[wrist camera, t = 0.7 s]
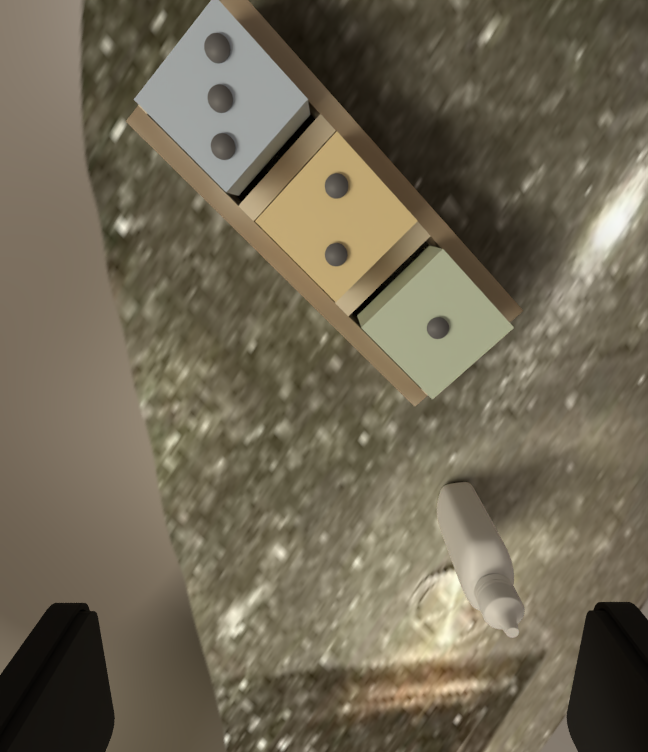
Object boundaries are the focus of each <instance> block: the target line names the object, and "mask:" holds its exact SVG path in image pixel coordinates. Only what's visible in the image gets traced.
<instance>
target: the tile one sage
mask: <svg viewBox="0 0 648 752" xmlns="http://www.w3.org/2000/svg"><path fill="white" fill-rule="evenodd" d="M357 317H358V320H359V323H360V326H361V328H362V329H363V330H364V331H365V332H366V333H367V334H368V335H369V336H370V337H371V338H372V339H373V340H374V341H375V342H376V343H377V344H378V345H379V346H380V347H381V348H382V349H383V350H384V351H385V352H386V353H387V354H388V355H389V356H390V357H391V358H392V359H393V360H394V361H395V362H396V363H397V364H398V365H399V366H400V367H401V368H402V369H403V370H404V371H405V372H406V373H407V374H408V375H409V376H410V377H411V378H412V379H413V380H414V381H415V382H416V383H417V384H418V385H419V386H420V387H421V388H422V389H423V390H424V391H425V392H426V393H427V394H428V395H429V396H430V397H431V398H432V399H434V398H435V397H436V396H437V395H438V394H439V393H440V392H442V391H443V390H444V389H445V388H446V387H447V386H448V385H450V384H451V383H452V382H453V381H454V380H455V379H456V378H457V377H459V376H460V375H461V374H462V373H463V372H464V371H465V370H467V369H468V368H469V367H470V366H471V365H472V364H473V363H475V362H476V361H477V360H478V359H479V358H480V357H481V356H482V355H484V354H485V353H486V352H487V351H488V350H489V349H490V348H492V347H493V346H494V345H495V344H496V343H497V342H498V341H500V340H501V339H502V338H503V337H504V336H505V335H506V334H507V333H509V332H510V331H511V330H512V329H513V328H514V327H513V326H512V325H511V324H510V323H509V322H508V320H507V319H506V318H505V317H504V316H503V315H502V314H501V313H500V312H499V310H498V309H497V308H496V307H495V306H494V305H493V304H492V303H491V302H490V300H489V299H488V298H487V297H486V296H485V295H484V294H483V293H482V292H481V290H480V289H479V288H478V287H477V286H476V285H475V284H474V283H473V282H472V280H471V279H470V278H469V277H468V276H467V275H466V274H465V273H464V272H463V271H462V269H461V268H460V267H459V266H458V265H457V264H456V263H455V262H454V261H453V259H452V258H451V257H450V256H449V255H448V254H447V253H446V252H445V251H444V249H441V248H437V247H433V246H428V247H427V248H426V249H425V250H424V251H423V252H422V253H421V254H420V255H419V256H418V257H417V258H416V259H415V260H414V261H413V262H412V263H411V264H410V265H409V266H408V267H407V268H406V269H405V270H403V271H402V272H401V273H400V274H399V275H398V276H397V277H396V278H395V279H394V280H393V281H392V282H391V283H390V284H389V285H388V286H387V287H386V288H385V289H384V290H383V291H382V292H381V293H380V294H379V295H378V296H377V297H376V298H375V299H374V300H373V301H372V302H371V303H370V304H369V305H367V306H366V307H365V308H364V309H363V310H362V311H361V312H360V313H359V314H358V315H357Z"/></svg>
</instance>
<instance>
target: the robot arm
mask: <svg viewBox="0 0 648 752" xmlns="http://www.w3.org/2000/svg"><path fill="white" fill-rule="evenodd" d="M114 719H115V718H114V710H113V704H112V698H111V692H110V686H109V680H108V674H107V668H106V662H105V656H104V651H103V645H102V639H101V633H100V627H99V621H98V616H97V613H96V612H95V611H90V610H89V607H88V605H87V604H86V603H54V604H52V605H51V606H50V607H49V608H48V609H47V610H46V612H45V613H44V615H43V616H42V617H41V619H40V620H39V622H38V623H37V624H36V626H35V627H34V629H33V630H32V632H31V633H30V634H29V636H28V637H27V638H26V640H25V641H24V643H23V644H22V645H21V647H20V649H19V650H18V651H17V653H16V654H15V655H14V657H13V658H12V660H11V661H10V662H9V664H8V665H7V666H6V668H5V669H4V671H3V672H2V673H1V675H0V752H105V751H106V748H107V746H108V744H109V741H110V739H111V736H112V732H113V728H114ZM567 724H568V728H569V732H570V735H571V738H572V740H573V742H574V744H575V746H576V748H577V750H578V752H648V620H647V618H646V617H645V616H644V615H643V614H642V612H641V611H640V610H639V609H638V608H637V607H636V606H635V605H634V604H632V603H630V602H598V603H597V604H596V605H595V608H594V610H592V611H589V612H588V613H587V615H586V620H585V625H584V630H583V635H582V640H581V645H580V650H579V655H578V660H577V665H576V670H575V675H574V680H573V685H572V690H571V695H570V700H569V705H568V711H567Z"/></svg>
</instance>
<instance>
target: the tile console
mask: <svg viewBox="0 0 648 752" xmlns="http://www.w3.org/2000/svg"><path fill="white" fill-rule="evenodd" d="M220 2H221V3H222V4H223V5H224V7H225V8H226V9H227V10H228V11H229V12H230V13H231V14H232V15H233V17H234V18H235V19H236V20H237V21H238V22H239V23H240V24H241V25H242V27H243V28H244V29H245V30H246V31H247V32H248V33H249V34H250V35H251V36H252V38H253V39H254V40H255V41H256V42H257V43H258V44H259V45H260V46H261V48H262V49H263V50H264V51H265V52H266V53H267V54H268V55H269V56H270V58H271V59H272V60H273V61H274V62H275V63H276V64H277V65H278V66H279V68H280V69H281V70H282V71H283V72H284V73H285V74H286V75H287V76H288V78H289V79H290V80H291V81H292V82H293V83H294V84H295V85H296V86H297V88H298V89H299V90H300V91H301V92H302V93H303V94H304V95H305V96H306V97H307V99H308V103H309V109H310V114H311V115H312V116H313V117H314V119H315V120H314V122H313V123H312V124H311V125H310V126H309V127H308V128H307V129H306V130H305V132H304V133H303V134H302V135H301V136H300V137H299V138H298V139H297V141H296V142H295V143H294V144H293V145H292V146H291V147H290V148H289V150H288V151H287V152H286V153H285V154H284V155H283V156H282V157H281V159H280V160H279V161H278V162H277V163H276V164H275V165H274V166H273V168H272V169H271V170H270V171H269V172H268V173H267V174H266V175H265V177H264V178H263V179H262V180H261V181H260V182H259V183H258V184H257V185H256V187H255V188H254V189H253V190H252V191H251V192H250V193H249V194H248V196H247V197H246V198H245V199H244V200H243V201H241V200H240V199H239V198H238V197H237V196H236V195H234V194H230V193H227V192H225V191H224V190H223V189H222V188H221V187H220V186H219V185H218V184H217V183H216V182H215V181H214V180H213V179H212V178H211V177H210V176H209V175H208V174H207V173H206V172H205V171H204V170H203V169H202V168H201V167H200V166H199V165H198V163H197V162H196V161H195V160H194V159H193V158H192V157H191V156H190V155H189V154H188V153H187V152H186V151H185V150H184V149H183V148H182V147H181V146H180V145H179V144H178V143H177V142H176V141H175V140H174V139H173V138H172V137H171V136H170V135H169V134H168V133H167V132H166V131H165V130H164V129H163V128H162V127H161V126H160V125H159V124H158V123H157V122H156V121H155V120H154V119H153V118H152V117H151V116H150V115H149V114H148V113H147V112H146V111H145V110H144V109H143V108H142V107H141V106H140V105H138V107H137V108H136V109H135V110H134V112H133V113H132V114H131V115H130V117H129V118H128V119H127V121H126V122H127V123H128V124H129V125H130V126H131V127H132V128H133V129H134V130H135V131H136V132H137V133H138V134H139V135H140V136H141V137H142V138H143V139H144V140H145V141H146V142H147V143H148V144H149V145H150V146H151V147H152V148H153V149H154V150H155V151H156V152H157V153H158V154H159V155H160V156H161V157H162V158H163V159H164V160H166V161H167V162H168V163H169V164H170V165H171V166H172V167H173V168H174V169H175V170H176V171H177V172H178V173H179V174H180V175H181V176H182V177H183V178H184V179H185V180H186V181H187V182H188V183H189V184H190V185H191V186H192V187H193V188H194V189H195V190H196V191H197V192H198V193H199V194H200V195H201V196H202V197H203V198H204V199H205V200H206V201H207V202H208V203H209V204H210V205H211V206H212V207H213V208H214V209H215V210H216V211H217V212H218V213H219V214H220V215H221V216H222V217H223V218H224V219H225V220H226V221H227V222H228V223H229V224H230V225H231V226H232V227H233V228H234V229H235V230H236V231H237V232H238V233H239V234H240V235H241V236H242V237H243V238H244V239H245V240H246V241H248V242H249V243H250V244H251V245H252V246H253V247H254V248H255V249H256V250H257V251H258V252H259V253H260V254H261V255H262V256H263V257H264V258H265V259H266V260H267V261H268V262H269V263H270V264H271V265H272V266H273V267H274V268H275V269H276V270H277V271H278V272H279V273H280V274H281V275H282V276H283V277H284V278H285V279H286V280H287V281H288V282H289V283H290V284H291V285H292V286H293V287H294V288H295V289H296V290H297V291H298V292H299V293H300V294H301V295H302V296H303V297H304V298H305V299H306V300H307V301H308V302H309V303H310V304H311V305H312V306H313V307H314V308H315V309H316V310H317V311H318V312H319V313H320V314H321V315H322V316H323V317H324V318H325V319H326V320H327V321H328V322H330V323H331V324H332V325H333V326H334V327H335V328H336V329H337V330H338V331H339V332H340V333H341V334H342V335H343V336H344V337H345V338H346V339H347V340H348V341H349V342H350V343H351V344H352V345H353V346H354V347H355V348H356V349H357V350H358V351H359V352H360V353H361V354H362V355H363V356H364V357H365V358H366V359H367V360H368V361H369V362H370V363H371V364H372V365H373V366H374V367H375V368H376V369H377V370H378V371H379V372H380V373H381V374H382V375H383V376H384V377H385V378H386V379H387V380H388V381H389V382H390V383H391V384H392V385H393V386H394V387H395V388H396V389H397V390H398V391H399V392H400V393H401V394H402V395H403V396H404V397H405V398H406V399H407V400H408V401H409V402H410V403H412V404H413V405H414V406H416V405H417V404H418V403H419V402H421V401H422V400H423V399H424V398H425V397H426V396H427V395H428V394H427V393H426V392H425V391H424V390H423V389H422V388H421V387H420V386H419V385H418V384H417V383H416V382H415V381H414V380H413V379H412V378H411V377H410V376H409V375H408V374H407V373H406V372H405V371H404V370H403V369H402V368H401V367H400V366H399V365H398V364H397V363H396V362H395V361H394V360H393V359H392V358H391V357H390V356H389V355H388V354H387V353H386V352H385V351H384V350H383V349H382V348H381V347H380V346H379V345H378V344H377V343H376V342H375V341H374V340H373V339H372V338H371V337H370V336H369V335H368V334H367V333H366V332H365V331H364V330H363V329H362V328H361V326H360V323H359V320H358V318H357V317H356V316H355V315H354V314H353V313H352V312H353V311H354V310H355V309H356V308H357V307H359V306H360V305H361V304H362V303H363V302H364V301H365V300H366V299H367V298H368V297H369V296H370V295H371V294H372V293H373V292H374V291H375V290H376V289H377V288H378V287H379V286H380V285H381V284H382V283H383V282H384V281H385V280H386V279H387V278H388V277H389V276H390V275H391V274H392V273H393V272H394V271H395V270H396V269H397V268H398V267H399V266H400V265H401V264H403V263H404V262H405V261H406V260H407V259H408V258H409V257H410V256H411V255H412V254H413V253H414V252H415V251H416V250H417V249H418V248H419V247H420V246H421V245H422V244H423V243H424V242H425V241H426V242H427V243H428V244H429V245H430V246H433V247H437V248H441V249H444V251H445V252H446V253H447V254H448V255H449V256H450V257H451V258H452V259H453V261H454V262H455V263H456V264H457V265H458V266H459V267H460V268H461V269H462V271H463V272H464V273H465V274H466V275H467V276H468V277H469V278H470V279H471V280H472V282H473V283H474V284H475V285H476V286H477V287H478V288H479V289H480V290H481V292H482V293H483V294H484V295H485V296H486V297H487V298H488V299H489V300H490V302H491V303H492V304H493V305H494V306H495V307H496V308H497V309H498V310H499V312H500V313H501V314H502V315H503V316H504V317H505V318H506V319H507V320H508V322H509V323H510V322H511V321H512V320H513V319H514V318H516V317H517V316H518V315H519V314H520V313H521V312H522V311H523V310H522V309H521V308H520V306H519V305H518V304H517V303H516V302H515V301H514V300H513V299H512V297H511V296H510V295H509V294H508V293H507V292H506V291H505V290H504V288H503V287H502V286H501V285H500V284H499V283H498V282H497V280H496V279H495V278H494V277H493V276H492V275H491V274H490V273H489V271H488V270H487V269H486V268H485V267H484V266H483V265H482V264H481V262H480V261H479V260H478V259H477V258H476V257H475V256H474V255H473V253H472V252H471V251H470V250H469V249H468V248H467V247H466V246H465V244H464V243H463V242H462V241H461V240H460V239H459V238H458V237H457V235H456V234H455V233H454V232H453V231H452V230H451V229H450V227H449V226H448V225H447V224H446V223H445V222H444V221H443V220H442V218H441V217H440V216H439V215H438V214H437V213H436V212H435V211H434V209H433V208H432V207H431V206H430V205H429V204H428V203H427V202H426V200H425V199H424V198H423V197H422V196H421V195H420V194H419V193H418V191H417V190H416V189H415V188H414V187H413V186H412V185H411V183H410V182H409V181H408V180H407V179H406V178H405V177H404V176H403V174H402V173H401V172H400V171H399V170H398V169H397V168H396V167H395V165H394V164H393V163H392V162H391V161H390V160H389V159H388V158H387V156H386V155H385V154H384V153H383V152H382V151H381V150H380V149H379V147H378V146H377V145H376V144H375V143H374V142H373V141H372V140H371V138H370V137H369V136H368V135H367V134H366V133H365V132H364V130H363V129H362V128H361V127H360V126H359V125H358V124H357V123H356V121H355V120H354V119H353V118H352V117H351V116H350V115H349V114H348V112H347V111H346V110H345V109H344V108H343V107H342V106H341V105H340V103H339V102H338V101H337V100H336V99H335V98H334V97H333V96H332V94H331V93H330V92H329V91H328V90H327V89H326V88H325V86H324V85H323V84H322V83H321V82H320V81H319V80H318V79H317V77H316V76H315V75H314V74H313V73H312V72H311V71H310V70H309V68H308V67H307V66H306V65H305V64H304V63H303V62H302V61H301V59H300V58H299V57H298V56H297V55H296V54H295V53H294V52H293V50H292V49H291V48H290V47H289V46H288V45H287V44H286V43H285V41H284V40H283V39H282V38H281V37H280V36H279V35H278V33H277V32H276V31H275V30H274V29H273V28H272V27H271V26H270V24H269V23H268V22H267V21H266V20H265V19H264V18H263V17H262V15H261V14H260V13H259V12H258V11H257V10H256V9H255V8H254V6H253V5H252V4H251V3H250V2H249V1H248V0H221V1H220ZM336 132H338V133H339V134H340V135H341V136H342V137H343V139H344V140H345V141H346V142H347V143H348V144H349V145H350V146H351V147H352V149H353V150H354V151H355V152H356V153H357V154H358V155H359V156H360V157H361V158H362V160H363V161H364V162H365V163H366V164H367V165H368V166H369V167H370V168H371V170H372V171H373V172H374V173H375V174H376V175H377V176H378V177H379V178H380V180H381V181H382V182H383V183H384V184H385V185H386V186H387V187H388V188H389V190H390V191H391V192H392V193H393V194H394V195H395V196H396V197H397V198H398V200H399V201H400V202H401V203H402V204H403V205H404V206H405V207H406V208H407V210H408V211H409V212H410V213H411V214H412V215H413V216H414V217H415V218H416V219H417V222H416V223H415V224H414V225H413V226H412V227H411V228H410V229H409V230H408V231H407V232H406V233H405V234H404V235H403V236H402V237H401V238H400V239H399V240H398V241H397V242H396V243H395V244H394V245H393V246H392V247H391V248H390V249H389V250H388V251H387V252H386V253H385V254H384V255H383V256H382V257H381V258H380V259H379V260H378V261H377V262H376V263H375V264H374V265H373V266H372V267H371V268H370V269H369V270H368V271H367V272H366V273H365V274H364V275H363V276H362V277H361V278H360V279H359V280H358V281H357V282H356V283H355V284H354V285H353V286H352V287H351V288H350V289H349V290H348V291H347V292H346V293H345V294H344V295H343V296H342V297H341V298H340V299H339V300H338V301H337V302H335V301H334V300H333V299H332V298H331V297H330V296H329V295H328V294H327V293H326V292H325V291H324V290H323V289H322V288H321V287H320V286H319V285H318V284H317V283H316V282H315V281H314V280H313V279H312V278H311V277H310V276H309V275H308V274H307V273H306V272H305V271H304V270H303V269H302V268H301V267H300V266H299V265H298V264H297V263H296V262H295V261H294V260H293V259H292V258H291V257H290V256H289V255H288V254H287V253H286V252H285V251H284V250H283V249H282V248H281V247H280V246H279V245H278V244H277V243H276V242H275V241H274V240H273V239H272V238H271V237H270V236H269V235H268V234H267V233H266V232H265V231H264V230H263V229H262V228H261V227H260V226H259V225H258V224H257V223H256V222H255V221H256V220H257V218H258V217H259V216H260V215H261V214H262V213H263V212H264V211H265V210H266V209H267V207H268V206H269V205H270V204H271V203H272V202H273V201H274V200H275V199H276V198H277V196H278V195H279V194H280V193H281V192H282V191H283V190H284V189H285V188H286V187H287V185H288V184H289V183H290V182H291V181H292V180H293V179H294V178H295V177H296V176H297V174H298V173H299V172H300V171H301V170H302V169H303V168H304V167H305V166H306V165H307V163H308V162H309V161H310V160H311V159H312V158H313V157H314V156H315V155H316V154H317V152H318V151H319V150H320V149H321V148H322V147H323V146H324V145H325V144H326V143H327V141H328V140H329V139H330V138H331V137H332V136H333V135H334V134H335V133H336Z"/></svg>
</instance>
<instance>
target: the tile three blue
mask: <svg viewBox="0 0 648 752" xmlns="http://www.w3.org/2000/svg"><path fill="white" fill-rule="evenodd" d="M134 100H135V101H136V102H137V103H138V104H139V105H140V106H141V107H142V108H143V109H144V110H145V111H146V112H147V113H148V114H149V115H150V116H151V117H152V118H153V119H154V120H155V121H156V122H157V123H158V124H159V125H160V126H161V127H162V128H163V129H164V130H165V131H166V132H167V133H168V134H169V135H170V136H171V137H172V138H173V139H174V140H175V141H176V142H177V143H178V144H179V145H180V146H181V147H182V148H183V149H184V150H185V151H186V152H187V153H188V154H189V155H190V156H191V157H192V158H193V159H194V160H195V161H196V162H197V163H198V165H199V166H200V167H201V168H202V169H203V170H204V171H205V172H206V173H207V174H208V175H209V176H210V177H211V178H212V179H213V180H214V181H215V182H216V183H217V184H218V185H219V186H220V187H221V188H222V189H223V190H224V191H225V192H227V193H230V194H234V195H237V196H239V195H240V194H241V193H242V191H243V190H244V189H245V188H246V187H247V186H248V185H249V184H250V182H251V181H252V180H253V179H254V178H255V177H256V176H257V175H258V173H259V172H260V171H261V170H262V169H263V168H264V167H265V166H266V164H267V163H268V162H269V161H270V160H271V159H272V158H273V157H274V155H275V154H276V153H277V152H278V151H279V150H280V149H281V147H282V146H283V145H284V144H285V143H286V142H287V141H288V140H289V138H290V137H291V136H292V135H293V134H294V133H295V132H296V131H297V129H298V128H299V127H300V126H301V125H302V124H303V123H304V122H305V120H306V119H307V118H308V117H309V116H310V109H309V103H308V99H307V97H306V96H305V95H304V94H303V93H302V92H301V91H300V90H299V89H298V88H297V86H296V85H295V84H294V83H293V82H292V81H291V80H290V79H289V78H288V76H287V75H286V74H285V73H284V72H283V71H282V70H281V69H280V68H279V66H278V65H277V64H276V63H275V62H274V61H273V60H272V59H271V58H270V56H269V55H268V54H267V53H266V52H265V51H264V50H263V49H262V48H261V46H260V45H259V44H258V43H257V42H256V41H255V40H254V39H253V38H252V36H251V35H250V34H249V33H248V32H247V31H246V30H245V29H244V28H243V27H242V25H241V24H240V23H239V22H238V21H237V20H236V19H235V18H234V17H233V15H232V14H231V13H230V12H229V11H228V10H227V9H226V8H225V7H224V5H223V4H222V3H221V2H220V1H219V0H211V1H210V3H209V4H208V5H207V6H206V8H205V9H204V10H203V12H202V13H201V14H200V15H199V17H198V18H197V19H196V21H195V22H194V23H193V24H192V26H191V27H190V28H189V30H188V31H187V32H186V33H185V35H184V36H183V37H182V38H181V40H180V41H179V42H178V44H177V45H176V46H175V47H174V49H173V50H172V51H171V53H170V54H169V55H168V56H167V58H166V59H165V60H164V62H163V63H162V64H161V65H160V67H159V68H158V69H157V71H156V72H155V73H154V74H153V76H152V77H151V78H150V80H149V81H148V82H147V83H146V85H145V86H144V87H143V89H142V90H141V91H140V92H139V94H138V95H137V96H136V97H135V99H134Z"/></svg>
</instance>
